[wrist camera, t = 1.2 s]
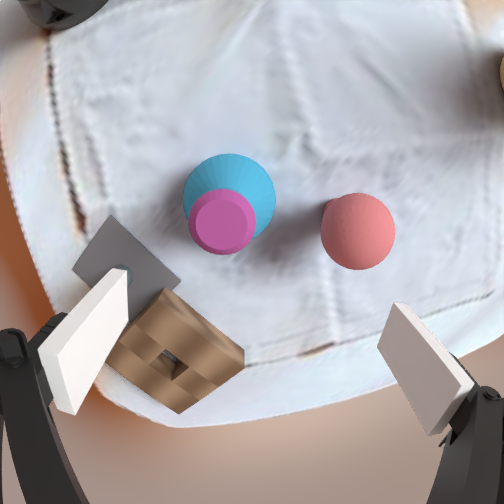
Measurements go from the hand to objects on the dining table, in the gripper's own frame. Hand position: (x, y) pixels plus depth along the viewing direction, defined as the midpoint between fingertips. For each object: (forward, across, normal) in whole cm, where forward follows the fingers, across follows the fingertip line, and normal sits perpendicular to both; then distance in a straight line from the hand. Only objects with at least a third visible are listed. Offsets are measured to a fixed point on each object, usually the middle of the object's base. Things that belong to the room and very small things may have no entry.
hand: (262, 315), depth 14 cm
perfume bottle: (+23, -3, +2) cm, 23 cm away
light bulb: (+23, +10, +2) cm, 25 cm away
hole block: (+22, -8, -20) cm, 31 cm away
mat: (+22, -15, -10) cm, 29 cm away
